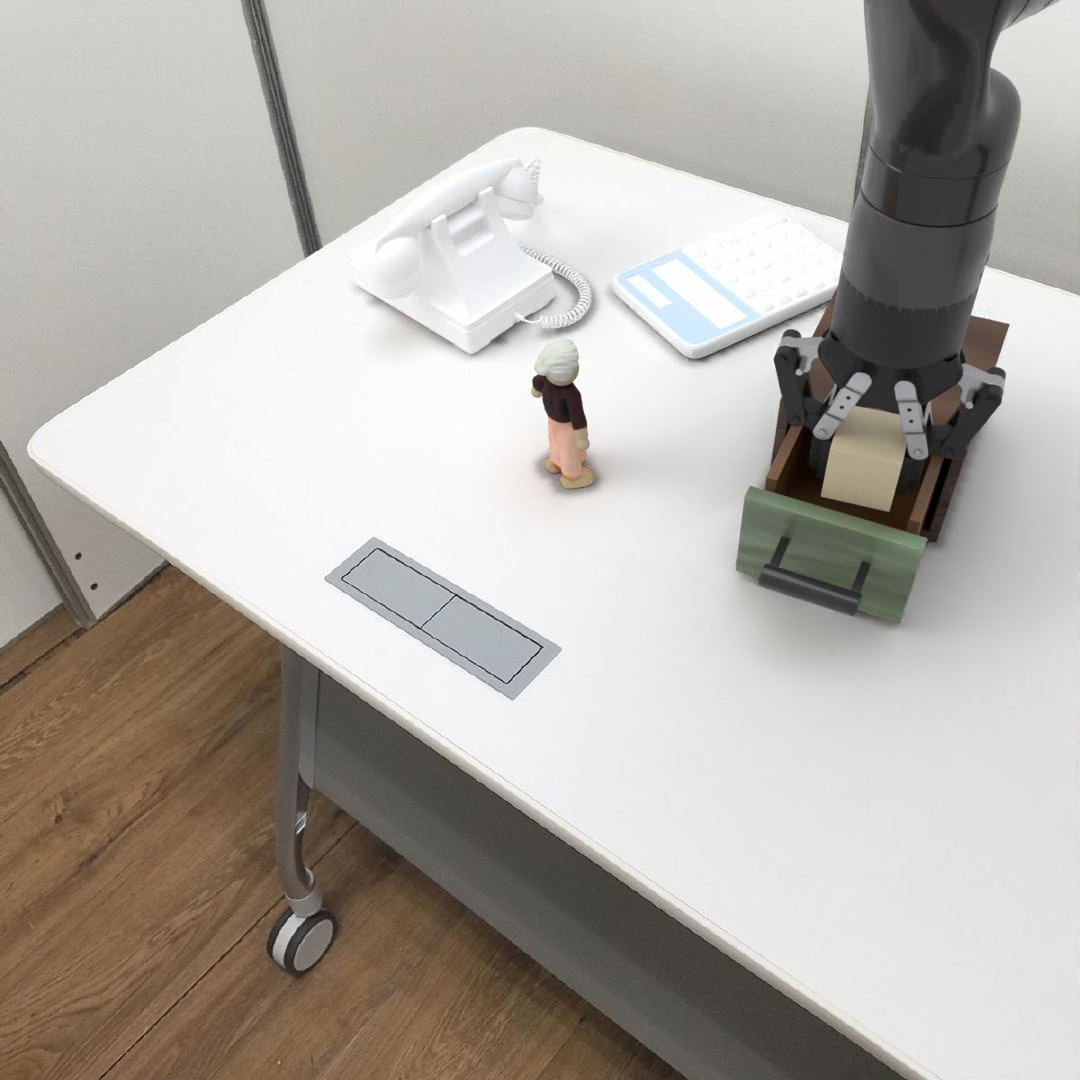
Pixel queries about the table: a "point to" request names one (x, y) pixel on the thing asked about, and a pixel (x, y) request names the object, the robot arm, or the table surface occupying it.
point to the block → (865, 459)
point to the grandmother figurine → (563, 412)
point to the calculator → (732, 283)
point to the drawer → (833, 537)
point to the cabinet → (979, 353)
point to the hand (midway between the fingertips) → (862, 477)
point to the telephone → (466, 258)
